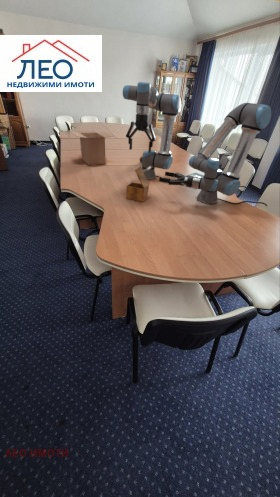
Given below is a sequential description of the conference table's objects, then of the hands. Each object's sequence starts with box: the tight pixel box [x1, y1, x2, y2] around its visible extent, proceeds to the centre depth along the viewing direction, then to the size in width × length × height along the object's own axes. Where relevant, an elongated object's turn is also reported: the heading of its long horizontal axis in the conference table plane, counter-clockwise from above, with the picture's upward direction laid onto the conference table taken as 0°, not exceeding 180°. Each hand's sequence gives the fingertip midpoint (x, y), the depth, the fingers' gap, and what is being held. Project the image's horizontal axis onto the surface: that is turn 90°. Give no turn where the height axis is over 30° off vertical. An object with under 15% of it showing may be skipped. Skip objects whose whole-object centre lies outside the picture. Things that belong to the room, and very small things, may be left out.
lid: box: [134, 165, 151, 189], centre depth 155 cm, size 14×10×9 cm
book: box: [184, 172, 204, 186], centre depth 200 cm, size 23×16×5 cm
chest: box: [126, 181, 150, 203], centre depth 164 cm, size 14×10×9 cm
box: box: [70, 129, 114, 166], centre depth 229 cm, size 44×36×27 cm
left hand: (140, 150), depth 147 cm, fingers open, 13 cm apart
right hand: (162, 176), depth 151 cm, fingers open, 13 cm apart
